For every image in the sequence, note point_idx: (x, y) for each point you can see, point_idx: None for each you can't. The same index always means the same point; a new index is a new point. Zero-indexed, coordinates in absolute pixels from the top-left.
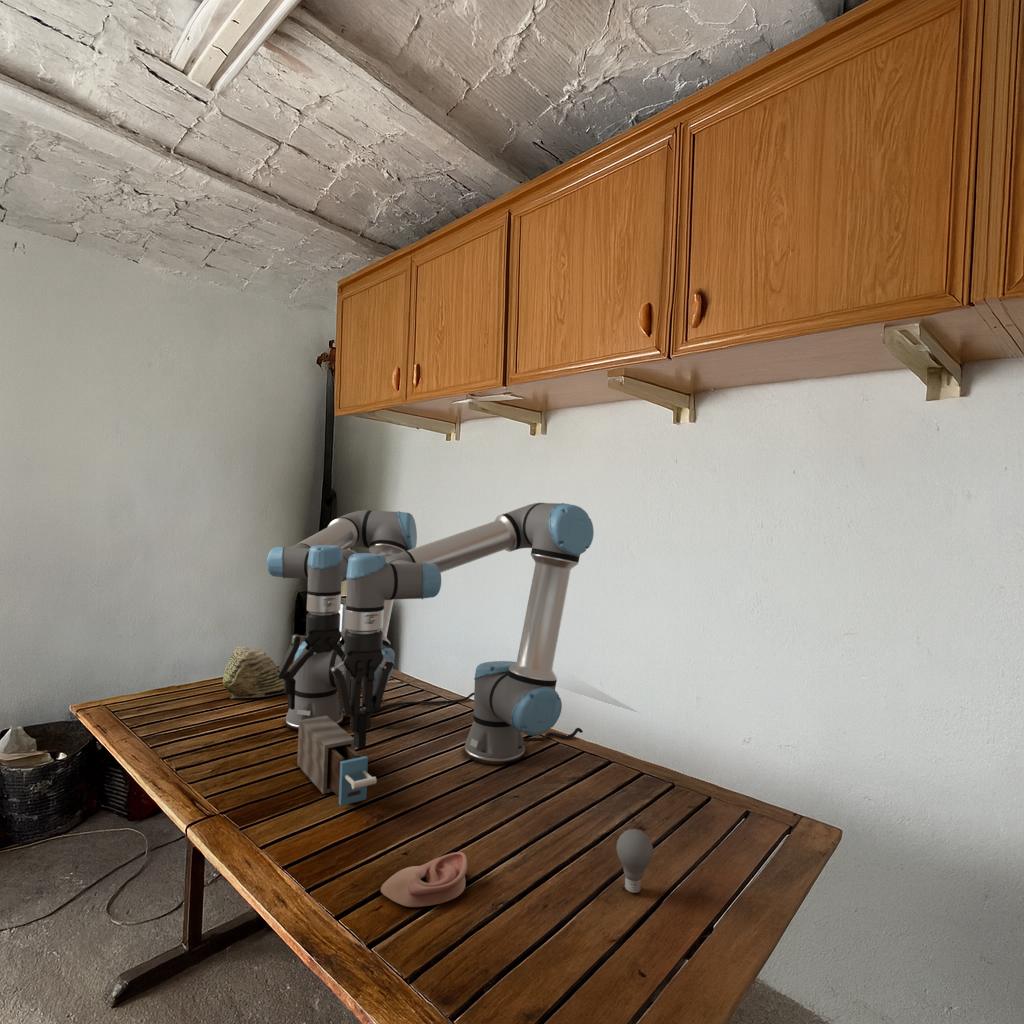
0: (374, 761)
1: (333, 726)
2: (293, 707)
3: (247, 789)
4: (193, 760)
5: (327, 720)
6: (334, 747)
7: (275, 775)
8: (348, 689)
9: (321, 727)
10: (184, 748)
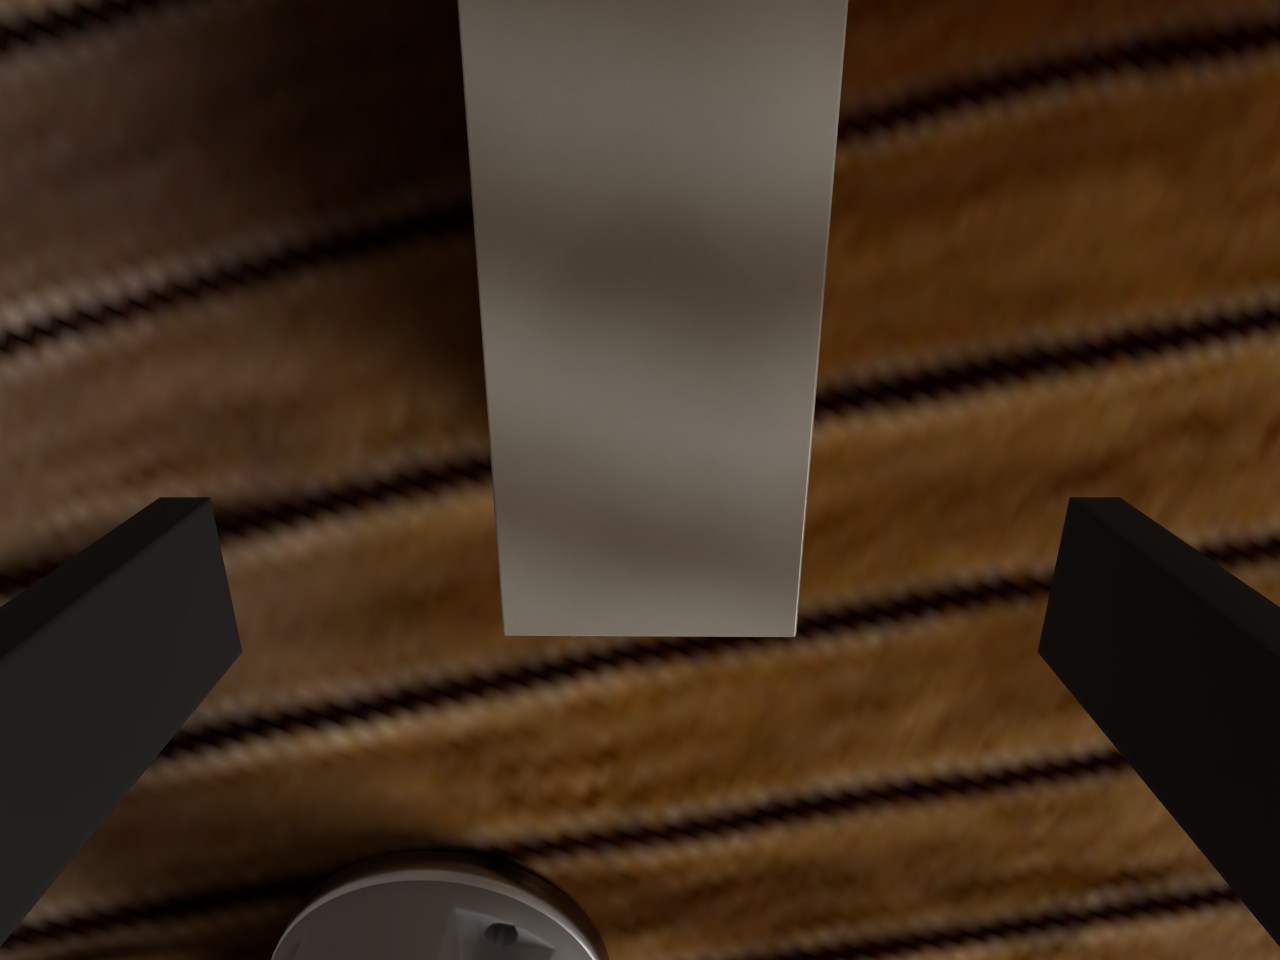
0: (246, 261)
1: (543, 295)
2: (1102, 507)
3: (1158, 267)
4: None
5: (543, 504)
6: None
7: (923, 386)
8: (131, 620)
9: (673, 333)
10: (1167, 945)
